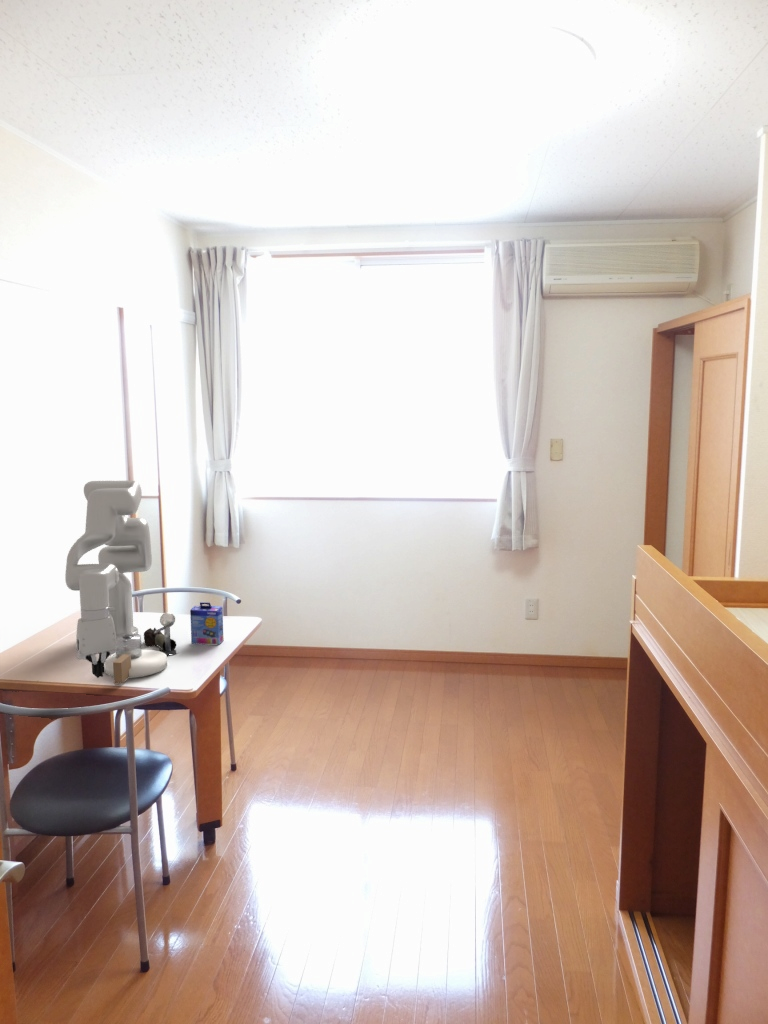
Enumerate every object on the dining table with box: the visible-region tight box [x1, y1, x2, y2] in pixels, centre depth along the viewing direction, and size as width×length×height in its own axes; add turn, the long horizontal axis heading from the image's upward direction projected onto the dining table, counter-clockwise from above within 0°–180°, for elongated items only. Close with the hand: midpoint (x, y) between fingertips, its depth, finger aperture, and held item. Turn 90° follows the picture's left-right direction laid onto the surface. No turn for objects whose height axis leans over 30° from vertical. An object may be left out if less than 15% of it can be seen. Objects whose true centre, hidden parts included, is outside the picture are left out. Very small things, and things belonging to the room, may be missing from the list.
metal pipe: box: [143, 627, 177, 651], centre depth 248 cm, size 18×7×6 cm, turn 36°
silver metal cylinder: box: [115, 633, 143, 660], centre depth 229 cm, size 8×8×6 cm
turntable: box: [104, 649, 168, 684], centre depth 223 cm, size 23×18×6 cm
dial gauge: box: [154, 612, 177, 656], centre depth 238 cm, size 5×8×14 cm
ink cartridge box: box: [189, 601, 225, 645], centre depth 251 cm, size 10×6×14 cm, turn 85°
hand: (98, 675), depth 211 cm, fingers closed
